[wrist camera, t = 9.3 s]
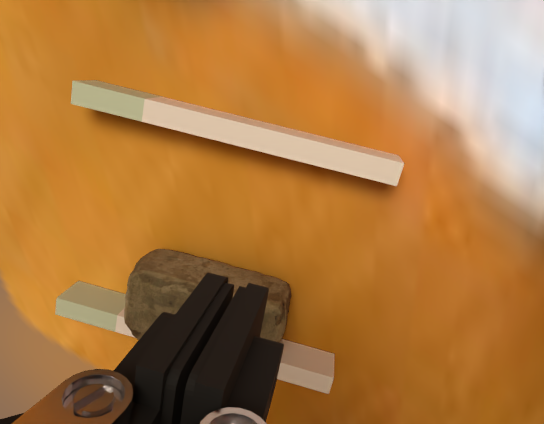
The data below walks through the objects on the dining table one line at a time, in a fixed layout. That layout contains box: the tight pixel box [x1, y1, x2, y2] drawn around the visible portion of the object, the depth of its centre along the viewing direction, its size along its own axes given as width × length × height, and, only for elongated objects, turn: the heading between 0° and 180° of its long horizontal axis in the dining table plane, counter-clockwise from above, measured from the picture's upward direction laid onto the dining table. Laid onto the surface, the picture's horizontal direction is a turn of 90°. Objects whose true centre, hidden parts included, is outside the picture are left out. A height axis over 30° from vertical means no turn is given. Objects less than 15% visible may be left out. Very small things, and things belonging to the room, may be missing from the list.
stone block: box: [124, 249, 291, 342], centre depth 32 cm, size 6×12×5 cm, turn 77°
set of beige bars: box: [55, 80, 404, 394], centre depth 32 cm, size 22×18×3 cm
